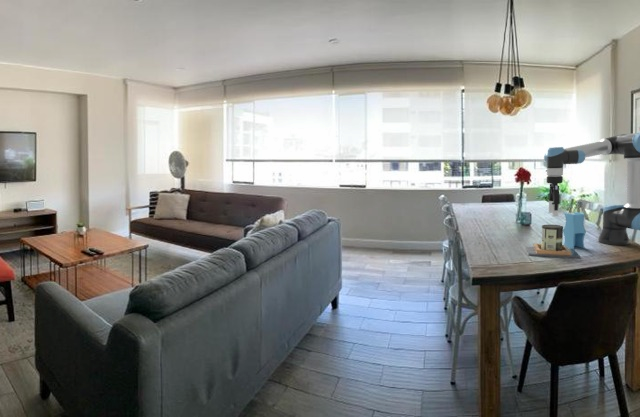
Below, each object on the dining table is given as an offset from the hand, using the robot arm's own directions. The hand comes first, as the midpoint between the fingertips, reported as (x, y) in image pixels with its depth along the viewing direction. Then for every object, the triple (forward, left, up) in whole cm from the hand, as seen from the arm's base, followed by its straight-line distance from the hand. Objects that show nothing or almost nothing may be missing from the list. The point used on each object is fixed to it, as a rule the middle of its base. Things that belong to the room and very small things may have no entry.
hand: (553, 214), depth 218 cm
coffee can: (0, 0, -21) cm, 21 cm away
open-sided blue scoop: (-14, -19, -22) cm, 32 cm away
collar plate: (0, 0, -22) cm, 22 cm away
